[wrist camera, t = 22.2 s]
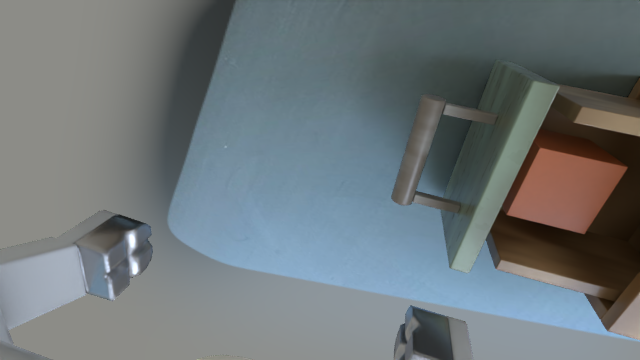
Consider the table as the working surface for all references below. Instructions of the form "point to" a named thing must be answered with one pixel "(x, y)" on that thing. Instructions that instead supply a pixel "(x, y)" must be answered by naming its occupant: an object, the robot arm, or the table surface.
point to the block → (563, 182)
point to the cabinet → (633, 304)
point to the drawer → (502, 168)
